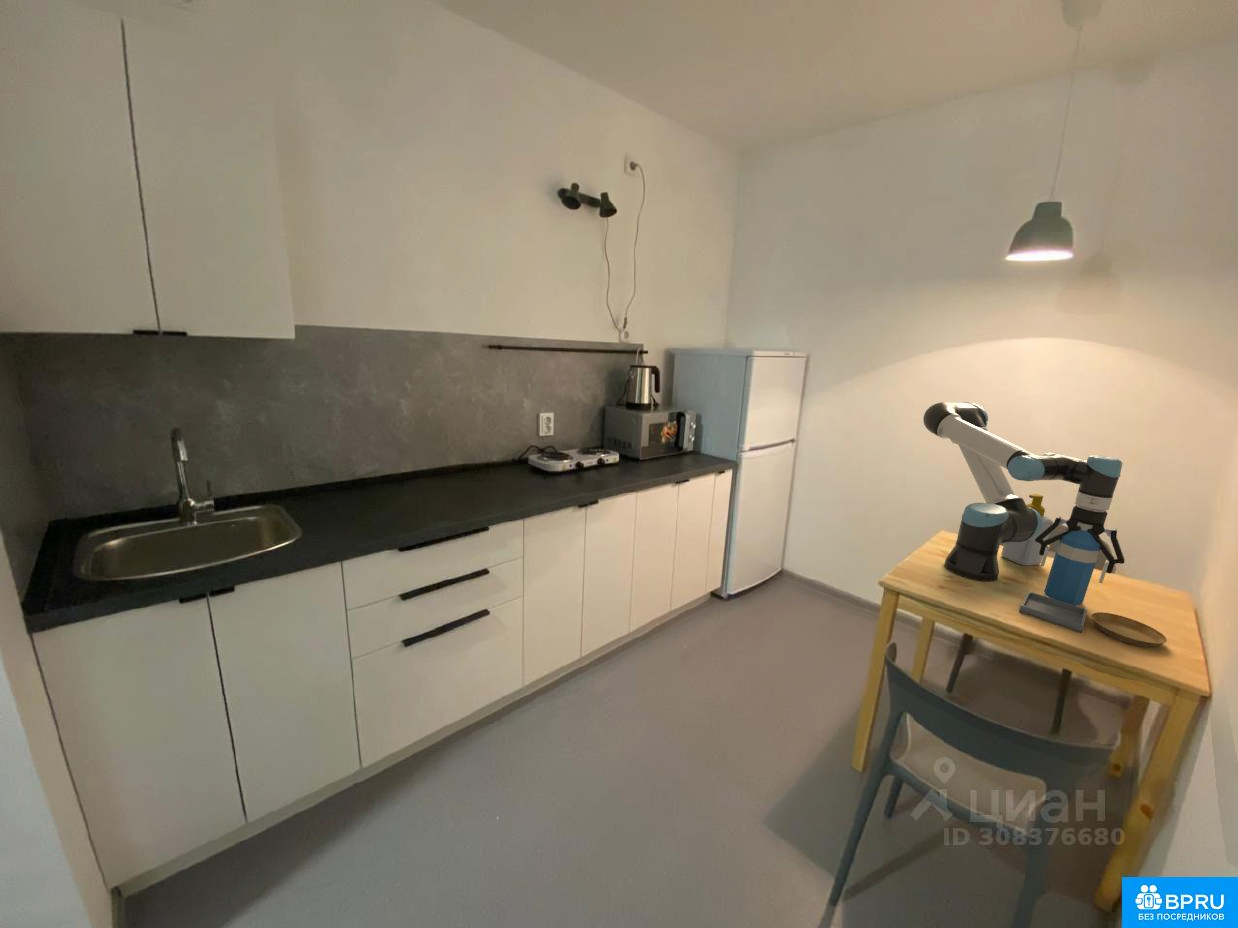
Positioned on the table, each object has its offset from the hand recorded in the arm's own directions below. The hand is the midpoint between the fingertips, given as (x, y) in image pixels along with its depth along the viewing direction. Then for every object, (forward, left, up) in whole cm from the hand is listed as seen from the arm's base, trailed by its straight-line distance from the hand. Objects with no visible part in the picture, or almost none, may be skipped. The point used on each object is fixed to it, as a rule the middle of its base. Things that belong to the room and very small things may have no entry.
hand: (1070, 573), depth 152 cm
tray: (-1, -16, -8) cm, 18 cm away
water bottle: (0, 0, -9) cm, 9 cm away
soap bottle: (-14, +25, -9) cm, 30 cm away
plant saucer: (+14, -13, -9) cm, 21 cm away
